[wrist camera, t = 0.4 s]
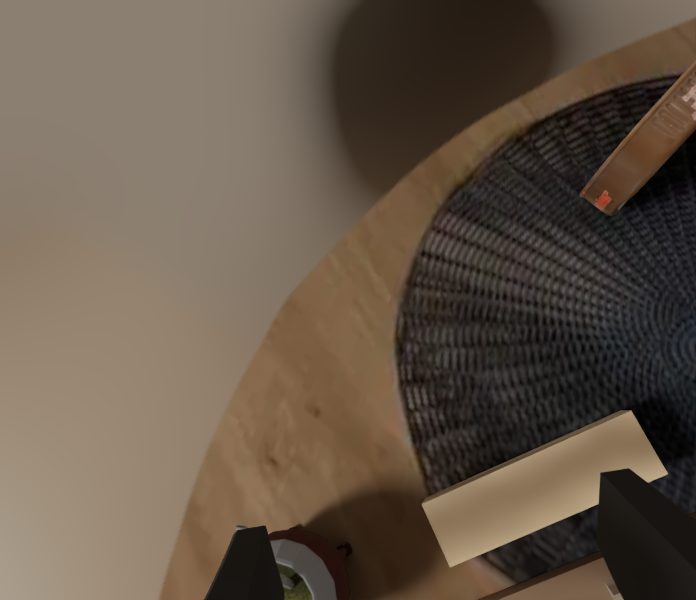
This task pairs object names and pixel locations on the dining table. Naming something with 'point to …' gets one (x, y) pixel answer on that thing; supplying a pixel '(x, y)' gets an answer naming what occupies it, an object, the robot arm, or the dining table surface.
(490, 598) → the endcap rail
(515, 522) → the slat
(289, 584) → the mate gourd
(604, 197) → the tin
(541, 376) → the dining table surface
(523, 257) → the dining table surface
